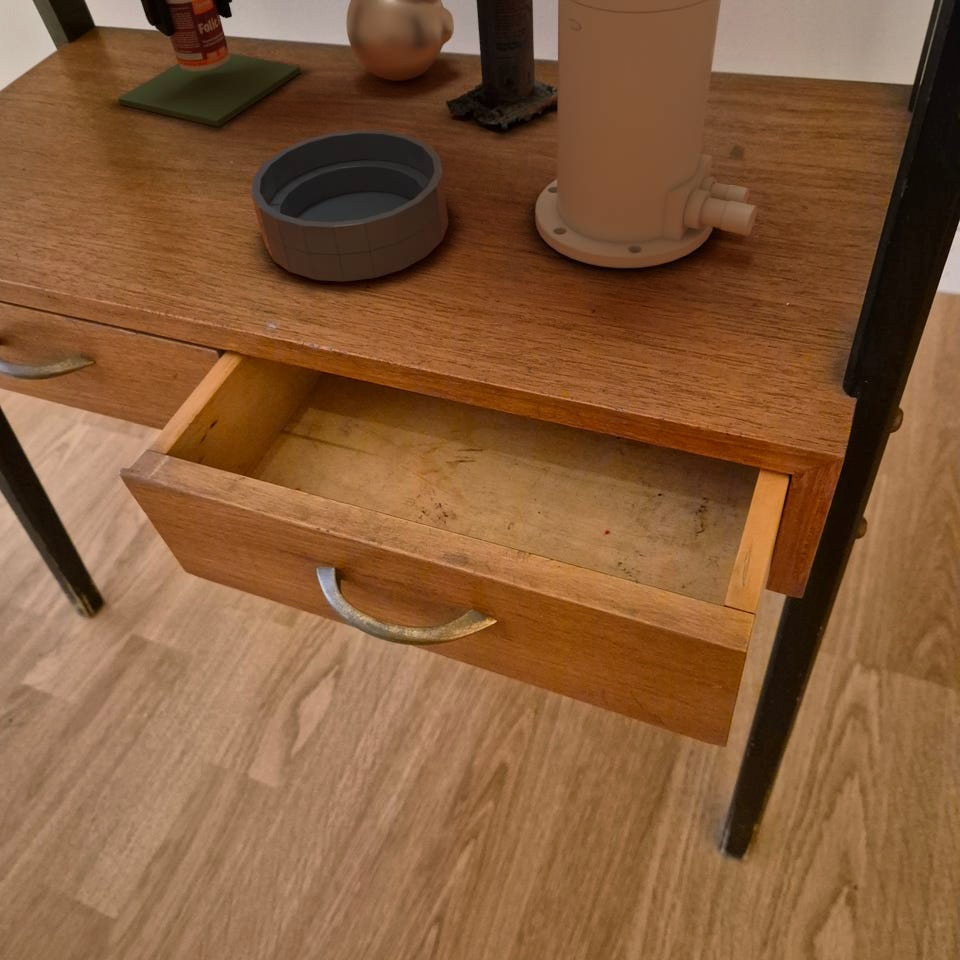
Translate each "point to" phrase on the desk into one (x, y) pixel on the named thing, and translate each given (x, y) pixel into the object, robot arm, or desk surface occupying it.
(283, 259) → the bowl
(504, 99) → the post on square base
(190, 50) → the pill bottle
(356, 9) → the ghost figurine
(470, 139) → the desk surface
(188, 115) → the mat
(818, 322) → the desk surface
